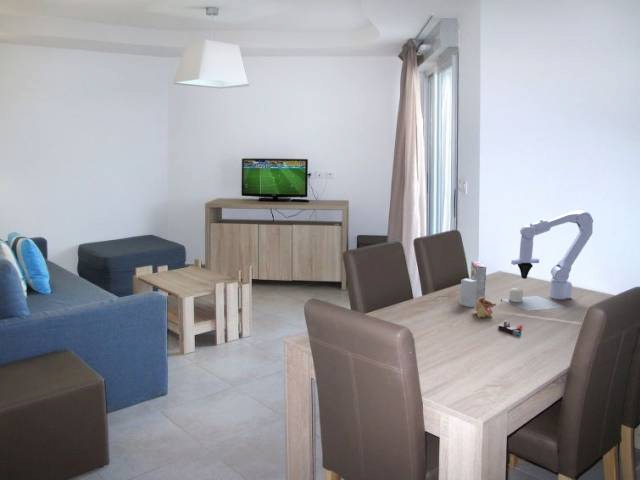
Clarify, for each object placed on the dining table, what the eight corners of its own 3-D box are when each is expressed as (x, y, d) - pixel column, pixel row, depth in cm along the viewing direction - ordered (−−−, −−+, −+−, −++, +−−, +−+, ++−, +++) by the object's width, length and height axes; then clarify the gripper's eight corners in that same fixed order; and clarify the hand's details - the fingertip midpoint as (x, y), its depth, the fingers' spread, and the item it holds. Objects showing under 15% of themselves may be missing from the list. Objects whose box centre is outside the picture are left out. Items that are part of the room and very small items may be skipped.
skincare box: (476, 306, 281) (478, 280, 279) (470, 307, 279) (471, 282, 276) (465, 303, 286) (467, 277, 284) (459, 304, 283) (460, 279, 281)
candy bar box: (468, 293, 302) (471, 261, 299) (479, 294, 302) (481, 261, 299) (474, 300, 291) (476, 266, 288) (484, 300, 291) (486, 266, 288)
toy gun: (518, 338, 240) (519, 326, 239) (494, 329, 250) (495, 318, 249) (534, 334, 245) (535, 322, 245) (510, 326, 255) (511, 314, 254)
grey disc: (517, 298, 291) (517, 290, 291) (525, 302, 285) (526, 294, 285) (505, 299, 289) (506, 291, 288) (514, 303, 283) (515, 295, 282)
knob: (517, 297, 291) (517, 287, 290) (524, 301, 285) (525, 290, 284) (507, 298, 289) (507, 288, 288) (514, 302, 284) (515, 291, 283)
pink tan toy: (489, 322, 260) (474, 305, 261) (477, 326, 269) (462, 310, 270) (502, 308, 264) (486, 292, 264) (490, 312, 273) (475, 297, 273)
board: (537, 297, 297) (537, 295, 297) (565, 309, 279) (565, 306, 279) (500, 301, 290) (500, 299, 290) (526, 313, 272) (526, 310, 272)
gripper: (518, 253, 287) (516, 281, 290) (544, 251, 292) (541, 279, 295) (509, 250, 294) (507, 277, 297) (534, 248, 299) (532, 275, 301)
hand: (524, 278), depth 296 cm, fingers closed
